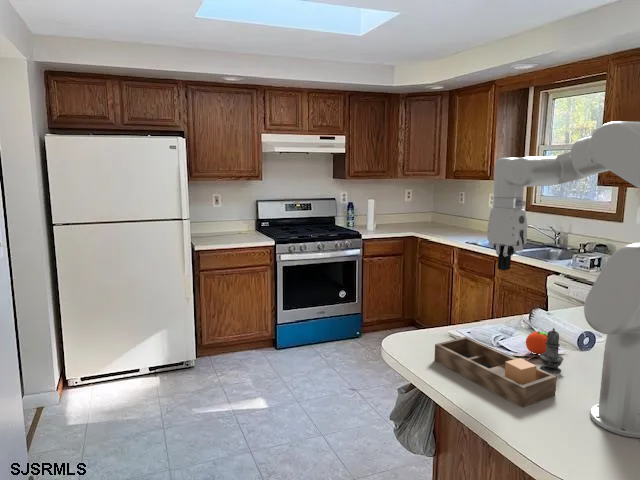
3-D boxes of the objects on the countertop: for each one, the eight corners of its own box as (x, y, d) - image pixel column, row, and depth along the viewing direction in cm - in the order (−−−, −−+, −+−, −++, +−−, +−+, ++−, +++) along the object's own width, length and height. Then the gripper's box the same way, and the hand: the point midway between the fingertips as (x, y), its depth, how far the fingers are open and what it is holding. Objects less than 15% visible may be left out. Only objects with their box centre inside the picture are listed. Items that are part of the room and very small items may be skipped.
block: (535, 384, 117) (536, 365, 116) (520, 389, 115) (521, 369, 114) (519, 376, 121) (520, 358, 121) (504, 380, 119) (505, 361, 119)
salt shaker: (565, 374, 128) (568, 332, 126) (541, 373, 129) (545, 331, 127) (558, 365, 133) (562, 325, 131) (536, 364, 134) (539, 323, 132)
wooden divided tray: (555, 395, 117) (556, 376, 116) (522, 407, 111) (523, 387, 110) (465, 352, 143) (465, 336, 142) (434, 360, 137) (435, 344, 136)
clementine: (551, 351, 143) (553, 328, 142) (556, 360, 137) (558, 337, 135) (523, 349, 145) (524, 326, 144) (527, 358, 138) (528, 335, 137)
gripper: (541, 205, 124) (536, 273, 128) (495, 200, 137) (492, 262, 140) (521, 206, 121) (516, 276, 124) (476, 202, 134) (473, 265, 137)
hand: (503, 269), depth 132 cm, fingers closed
